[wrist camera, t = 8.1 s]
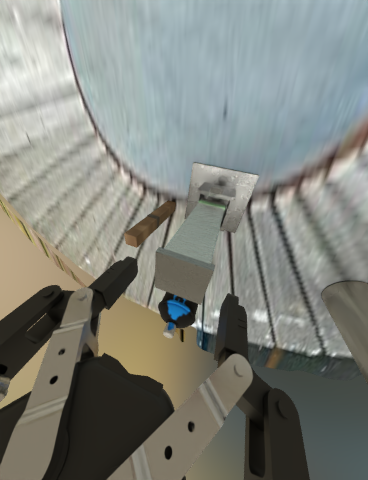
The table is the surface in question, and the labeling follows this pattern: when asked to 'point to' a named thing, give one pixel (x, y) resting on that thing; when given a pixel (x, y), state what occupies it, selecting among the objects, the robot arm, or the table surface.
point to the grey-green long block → (190, 253)
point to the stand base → (221, 191)
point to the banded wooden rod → (149, 224)
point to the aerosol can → (176, 313)
